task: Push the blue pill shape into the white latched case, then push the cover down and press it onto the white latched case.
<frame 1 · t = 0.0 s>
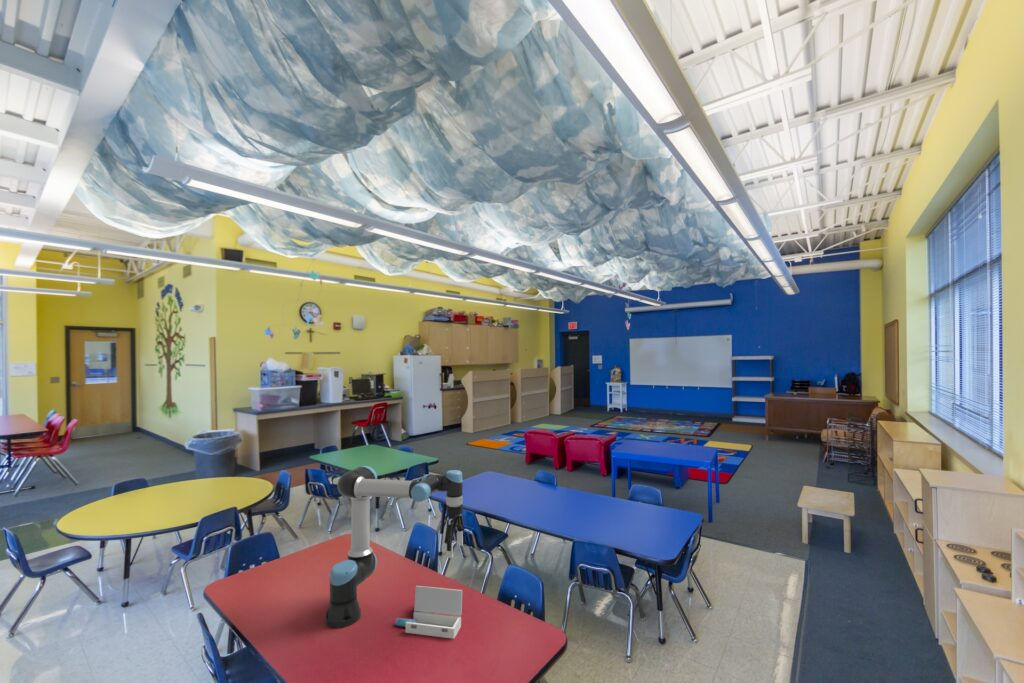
hand: (454, 551, 202), 28 cm above the table, fingers open, 13 cm apart
lidded jar: (427, 611, 203), on the table
cover: (438, 600, 194), point 9 cm above the table, hinge at 100.0°
white latched case: (433, 629, 188), on the table
blue pill shape: (406, 626, 191), on the table
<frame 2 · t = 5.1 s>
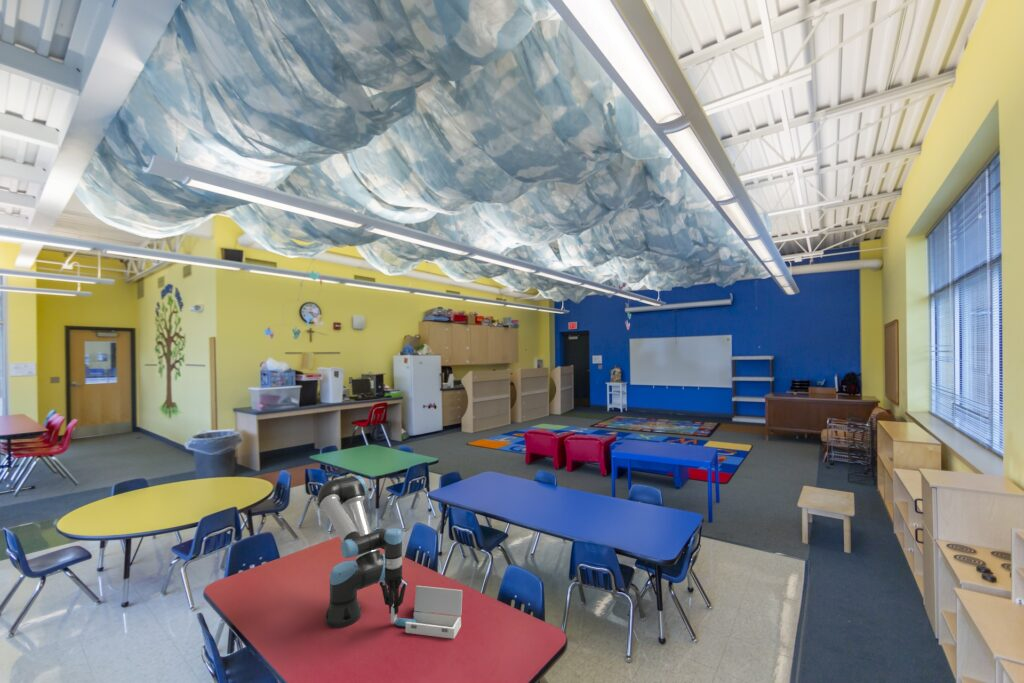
hand: (393, 621, 192), 2 cm above the table, fingers closed
blue pill shape: (406, 626, 191), on the table, touching gripper
everything else where it was.
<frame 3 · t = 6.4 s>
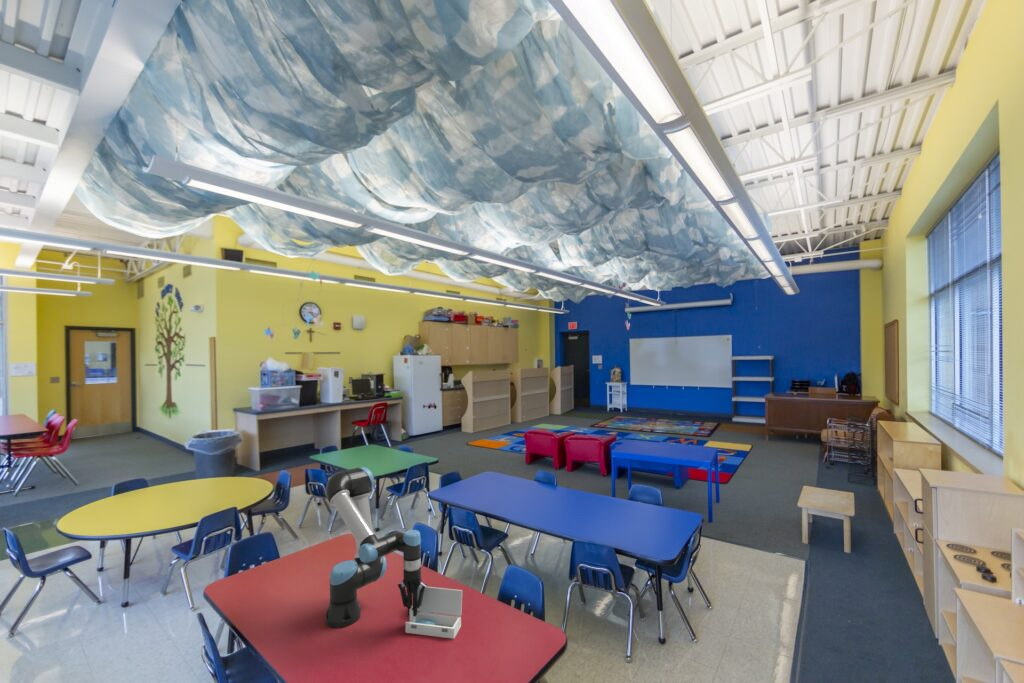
hand: (412, 623, 190), 2 cm above the table, fingers closed
blue pill shape: (424, 628, 189), resting in white latched case, touching gripper
everything else where it was.
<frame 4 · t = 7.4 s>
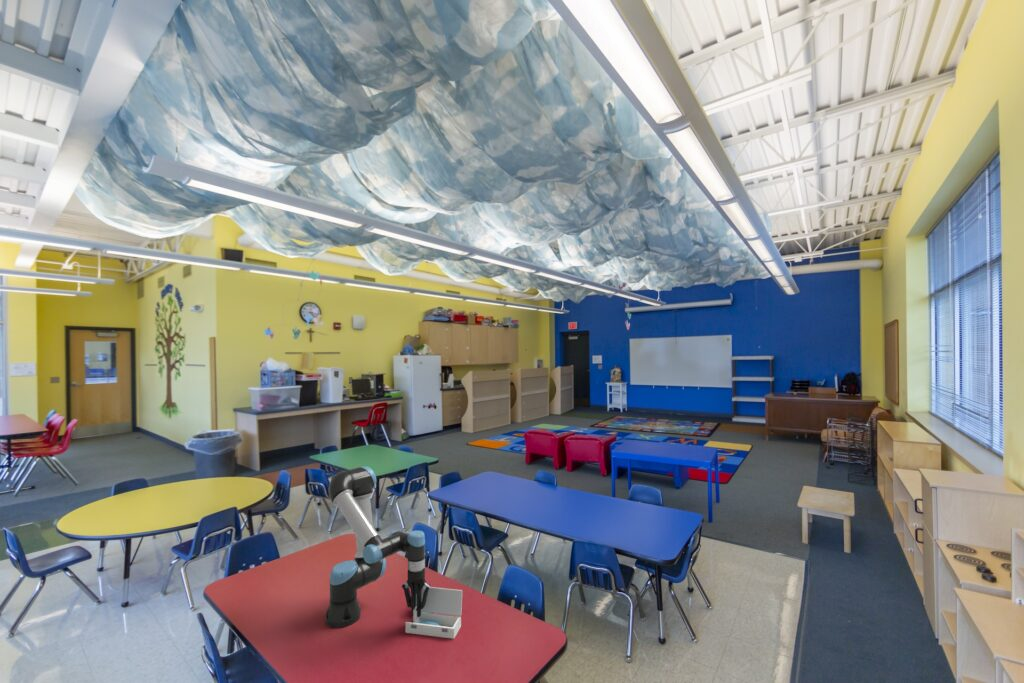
hand: (416, 623, 190), 1 cm above the table, fingers closed
blue pill shape: (428, 629, 189), resting in white latched case
everything else where it was.
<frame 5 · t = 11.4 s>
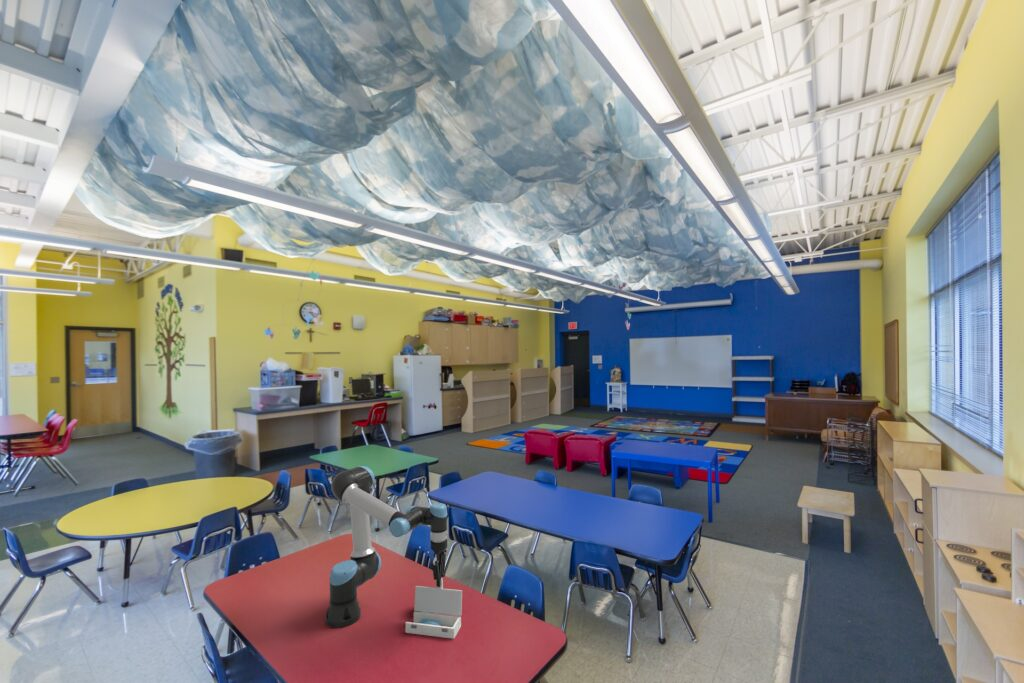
hand: (439, 592, 196), 12 cm above the table, fingers closed
cover: (438, 600, 194), point 9 cm above the table, hinge at 97.9°, touching gripper
blue pill shape: (428, 628, 189), resting in white latched case, tilted 17°
everything else where it was.
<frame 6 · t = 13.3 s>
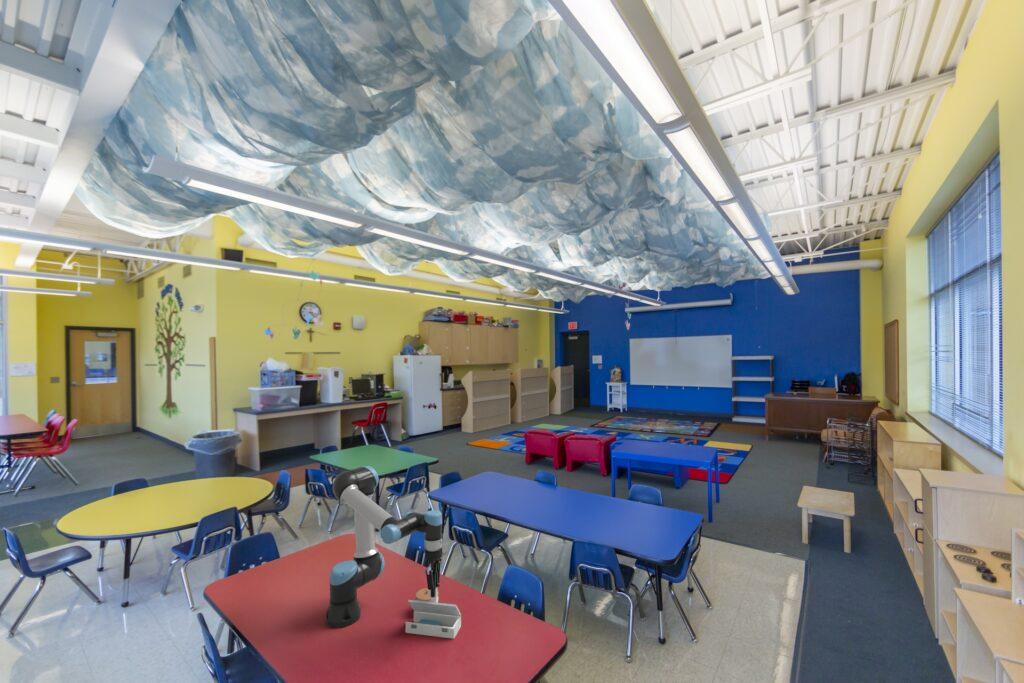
hand: (434, 603, 189), 11 cm above the table, fingers closed
cover: (434, 607, 190), point 8 cm above the table, hinge at 49.3°, touching gripper
blue pill shape: (428, 628, 189), resting in white latched case, tilted 25°
everything else where it was.
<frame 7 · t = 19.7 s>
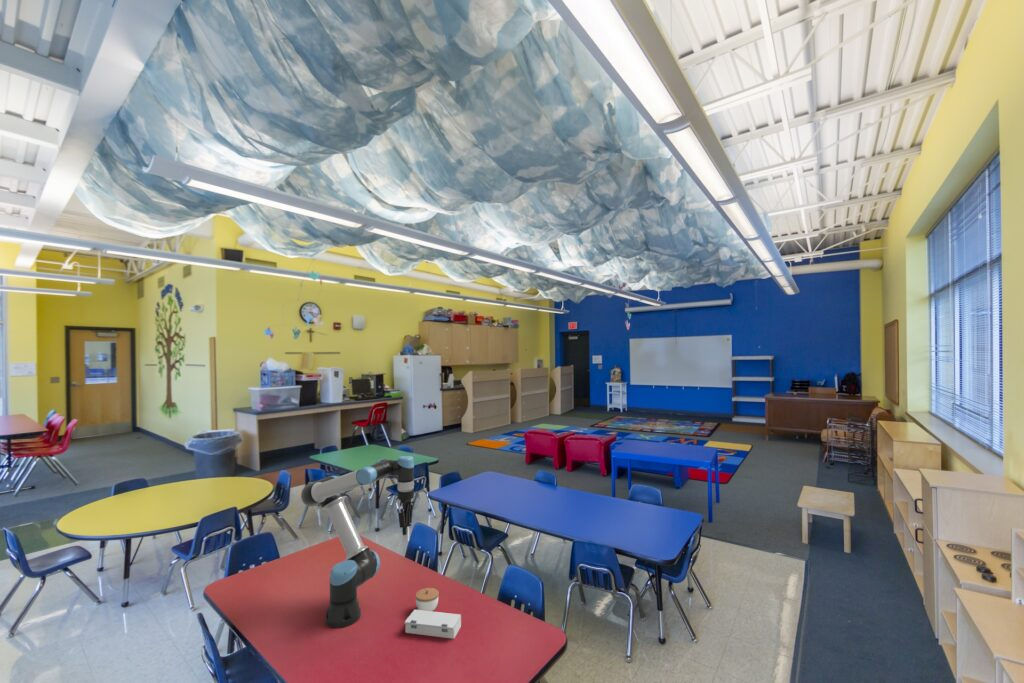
hand: (405, 540, 204), 32 cm above the table, fingers closed
cover: (433, 618, 188), point 5 cm above the table, hinge at 0.3°
blue pill shape: (428, 627, 189), resting in white latched case, tilted 50°
everything else where it was.
at the end: cover at +0° (first picture: +100°); blue pill shape inside the target area on the white latched case (3.8 cm from its centre), point 0.4 cm above the white latched case's base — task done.
